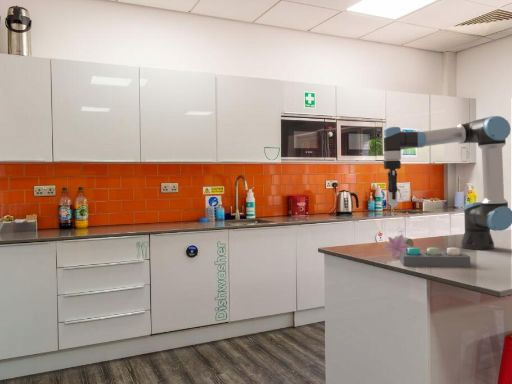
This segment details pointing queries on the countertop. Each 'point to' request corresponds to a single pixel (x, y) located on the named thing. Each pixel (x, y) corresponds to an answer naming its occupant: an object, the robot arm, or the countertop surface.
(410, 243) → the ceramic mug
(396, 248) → the lily
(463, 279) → the countertop surface
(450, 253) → the cream button
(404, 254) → the console
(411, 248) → the teal button
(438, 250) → the sage button
